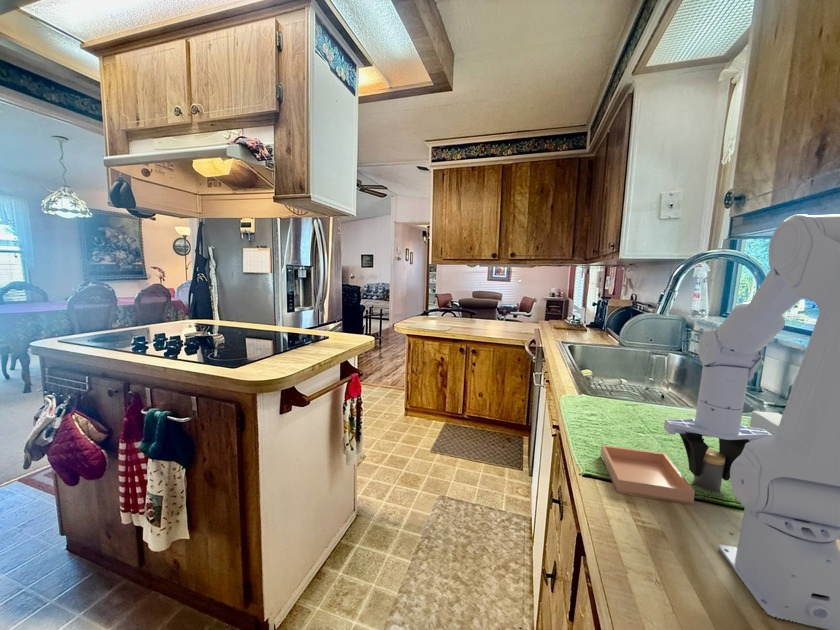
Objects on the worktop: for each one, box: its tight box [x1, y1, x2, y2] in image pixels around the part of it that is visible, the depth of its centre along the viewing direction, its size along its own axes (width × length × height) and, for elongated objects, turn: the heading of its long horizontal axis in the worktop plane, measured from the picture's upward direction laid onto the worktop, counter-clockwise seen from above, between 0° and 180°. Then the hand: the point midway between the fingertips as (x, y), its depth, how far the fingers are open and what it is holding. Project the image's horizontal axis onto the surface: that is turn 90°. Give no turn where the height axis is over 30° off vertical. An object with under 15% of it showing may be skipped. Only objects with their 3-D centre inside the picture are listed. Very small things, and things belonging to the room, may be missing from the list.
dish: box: [600, 444, 696, 506], centre depth 60 cm, size 11×11×2 cm
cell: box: [693, 447, 726, 492], centre depth 58 cm, size 4×4×6 cm
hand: (708, 474), depth 58 cm, fingers open, 4 cm apart
